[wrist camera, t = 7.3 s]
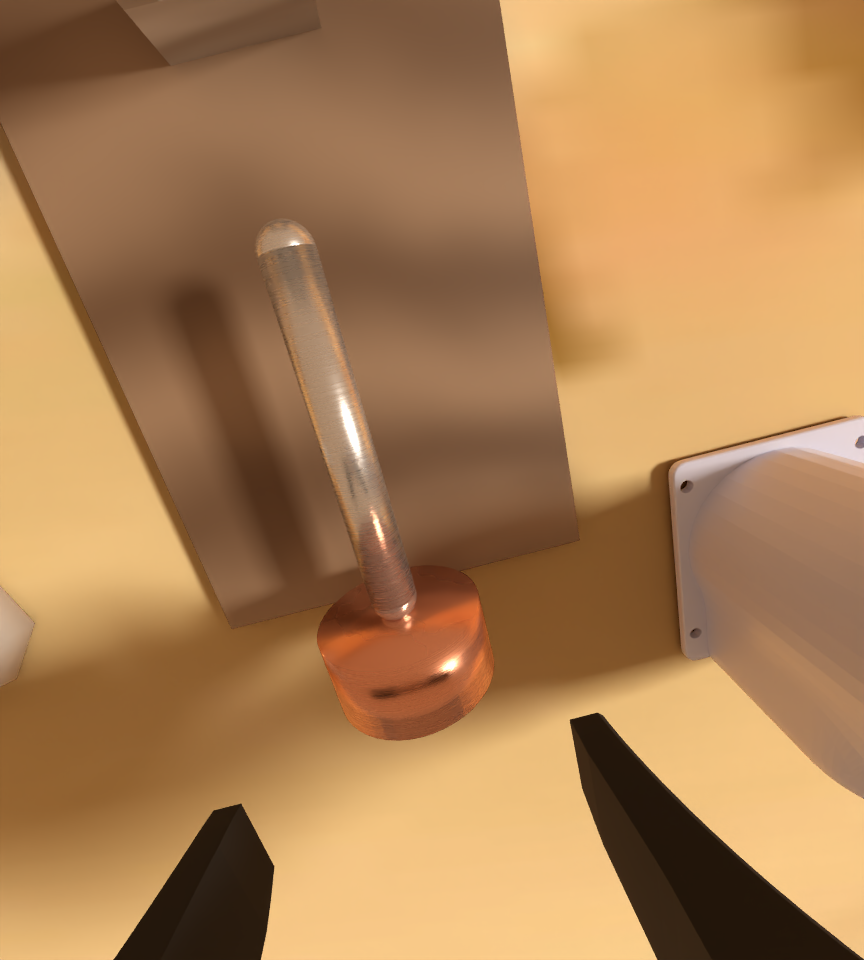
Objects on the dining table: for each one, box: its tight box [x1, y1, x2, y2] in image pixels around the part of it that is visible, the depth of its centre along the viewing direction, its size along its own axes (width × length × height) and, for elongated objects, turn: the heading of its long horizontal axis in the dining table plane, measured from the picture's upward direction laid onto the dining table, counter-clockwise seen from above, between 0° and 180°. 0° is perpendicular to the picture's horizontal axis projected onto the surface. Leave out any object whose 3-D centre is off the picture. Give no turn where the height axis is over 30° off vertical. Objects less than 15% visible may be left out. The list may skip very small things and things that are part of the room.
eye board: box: [0, 0, 580, 629], centre depth 12 cm, size 22×14×7 cm, turn 14°
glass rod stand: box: [255, 219, 494, 740], centre depth 13 cm, size 13×5×5 cm, turn 14°
